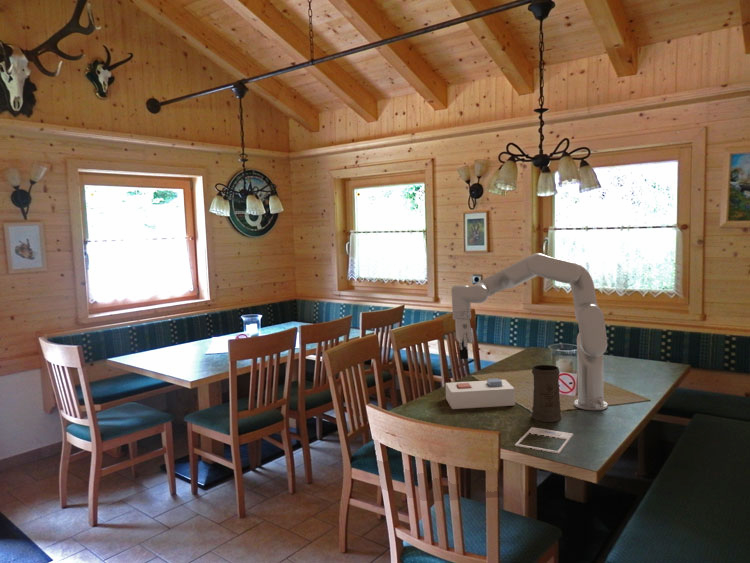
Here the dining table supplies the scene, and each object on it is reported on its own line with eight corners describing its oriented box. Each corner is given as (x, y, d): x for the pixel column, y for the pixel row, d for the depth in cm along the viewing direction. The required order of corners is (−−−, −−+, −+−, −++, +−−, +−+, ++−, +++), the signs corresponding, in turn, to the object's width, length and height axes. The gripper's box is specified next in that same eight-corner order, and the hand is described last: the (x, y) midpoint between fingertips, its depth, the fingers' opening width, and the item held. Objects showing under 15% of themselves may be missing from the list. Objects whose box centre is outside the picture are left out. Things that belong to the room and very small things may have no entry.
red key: (471, 395, 234) (471, 386, 234) (459, 396, 234) (459, 386, 234) (468, 392, 239) (468, 382, 239) (457, 392, 239) (456, 383, 239)
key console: (515, 405, 231) (514, 388, 230) (452, 409, 230) (451, 392, 229) (505, 395, 245) (505, 379, 244) (446, 398, 244) (445, 382, 243)
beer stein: (567, 421, 210) (565, 368, 209) (540, 424, 208) (538, 370, 207) (548, 411, 225) (546, 361, 224) (523, 413, 223) (520, 363, 223)
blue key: (502, 390, 235) (501, 381, 234) (490, 391, 234) (489, 382, 234) (498, 387, 240) (498, 378, 239) (487, 388, 239) (487, 378, 239)
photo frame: (573, 433, 196) (559, 451, 181) (573, 436, 196) (559, 454, 181) (531, 426, 204) (514, 443, 189) (531, 429, 204) (515, 447, 189)
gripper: (474, 317, 226) (477, 361, 228) (467, 311, 241) (469, 353, 243) (456, 318, 226) (458, 363, 227) (449, 313, 241) (451, 355, 242)
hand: (464, 358), depth 235 cm, fingers closed
